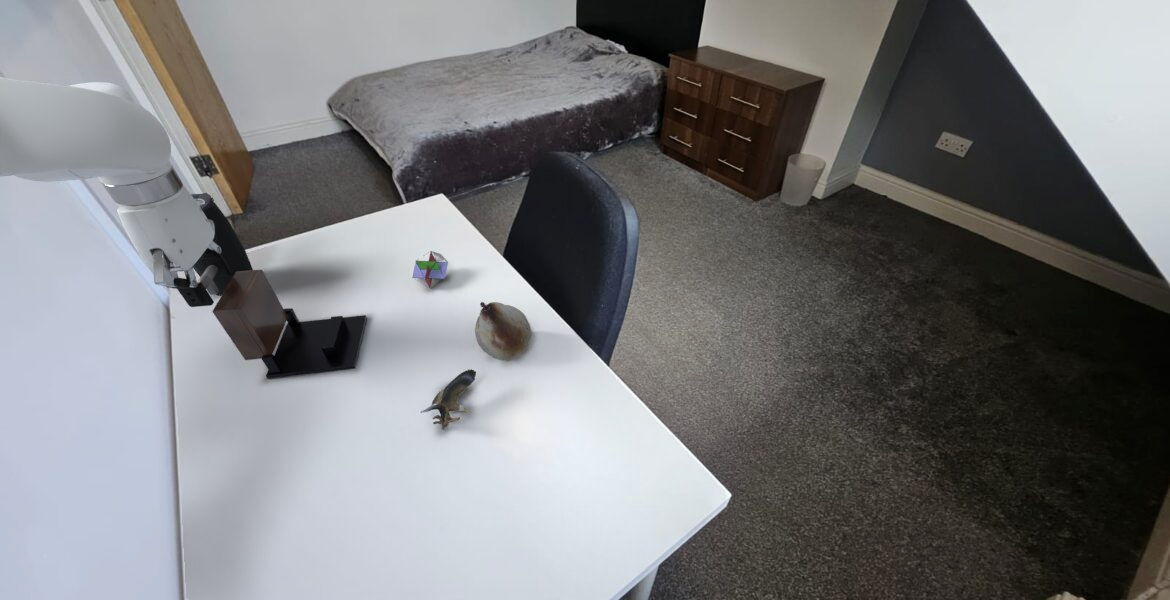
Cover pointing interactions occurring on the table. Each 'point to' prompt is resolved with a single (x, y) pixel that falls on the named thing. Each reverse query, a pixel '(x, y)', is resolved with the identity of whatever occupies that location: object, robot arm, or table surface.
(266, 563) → the table surface
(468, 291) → the table surface
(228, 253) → the portable speaker
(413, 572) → the table surface
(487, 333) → the fruit
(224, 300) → the open drawer
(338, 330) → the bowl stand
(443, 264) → the geometric puzzle
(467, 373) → the eagle figurine
